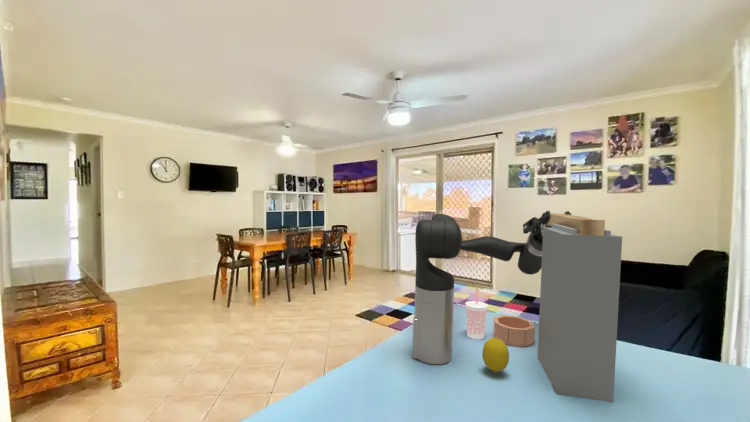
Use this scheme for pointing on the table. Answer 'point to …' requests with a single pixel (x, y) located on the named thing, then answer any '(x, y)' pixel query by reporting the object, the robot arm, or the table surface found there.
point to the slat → (579, 224)
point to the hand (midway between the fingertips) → (558, 214)
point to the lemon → (495, 354)
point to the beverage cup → (476, 318)
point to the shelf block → (579, 311)
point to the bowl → (514, 330)
